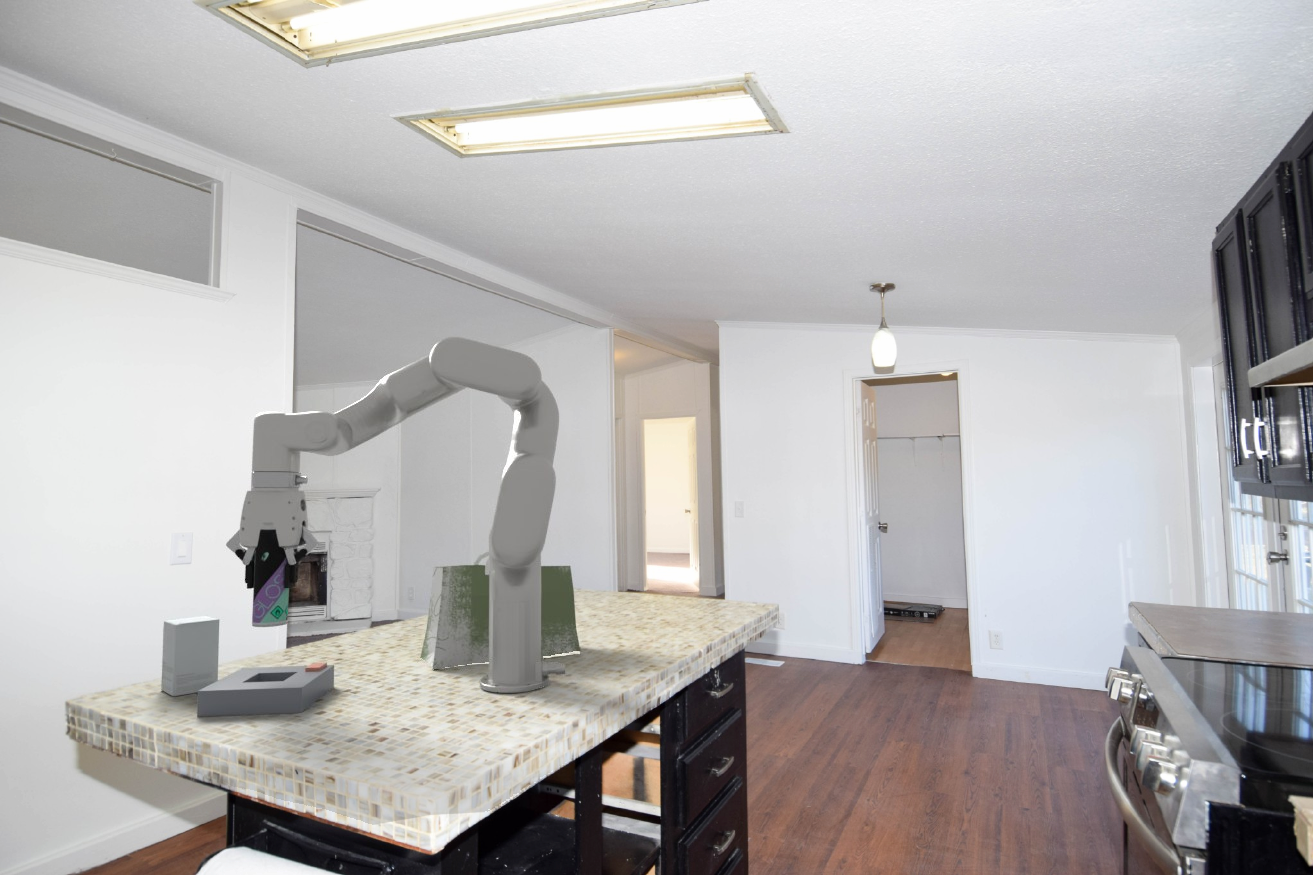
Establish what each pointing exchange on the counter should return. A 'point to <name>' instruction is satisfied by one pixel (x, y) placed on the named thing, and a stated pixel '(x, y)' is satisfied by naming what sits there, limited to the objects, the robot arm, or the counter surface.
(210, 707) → the socket plate
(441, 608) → the grocery bag
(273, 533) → the spray can
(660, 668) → the counter surface
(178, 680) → the supplement box
